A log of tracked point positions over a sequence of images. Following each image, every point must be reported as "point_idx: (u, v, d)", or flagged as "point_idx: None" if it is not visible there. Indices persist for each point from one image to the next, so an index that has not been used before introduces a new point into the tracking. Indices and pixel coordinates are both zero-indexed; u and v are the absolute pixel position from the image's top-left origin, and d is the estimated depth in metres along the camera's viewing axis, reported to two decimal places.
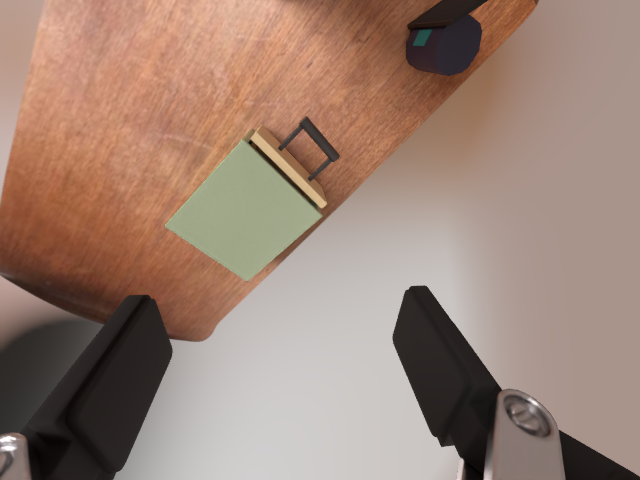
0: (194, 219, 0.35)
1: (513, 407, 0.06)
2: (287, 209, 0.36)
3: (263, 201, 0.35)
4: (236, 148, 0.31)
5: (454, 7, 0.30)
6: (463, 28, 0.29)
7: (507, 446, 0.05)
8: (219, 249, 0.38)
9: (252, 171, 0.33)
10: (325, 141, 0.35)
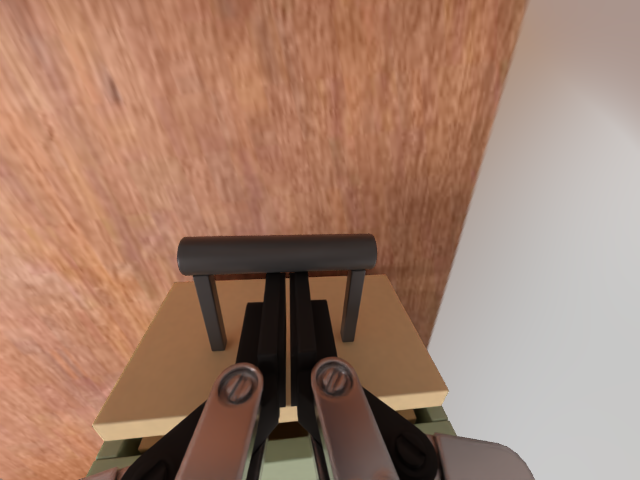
0: None
1: (324, 377, 0.07)
2: None
3: None
4: None
5: None
6: None
7: (332, 425, 0.06)
8: None
9: None
10: (296, 251, 0.09)
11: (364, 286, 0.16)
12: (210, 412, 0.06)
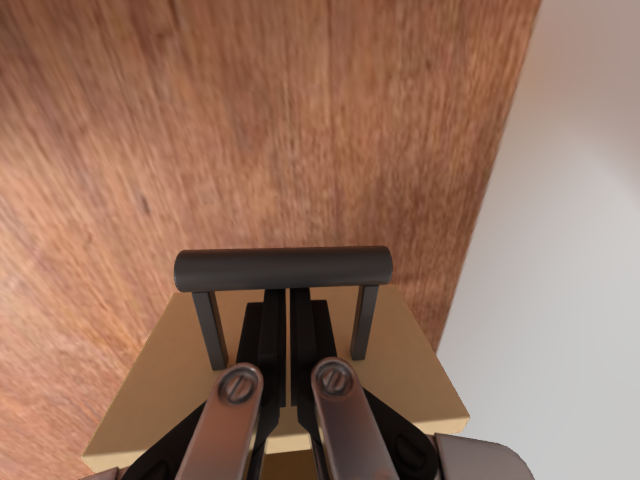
0: None
1: (324, 378, 0.07)
2: None
3: None
4: None
5: None
6: None
7: (332, 425, 0.06)
8: None
9: None
10: (304, 266, 0.08)
11: None
12: (210, 412, 0.06)
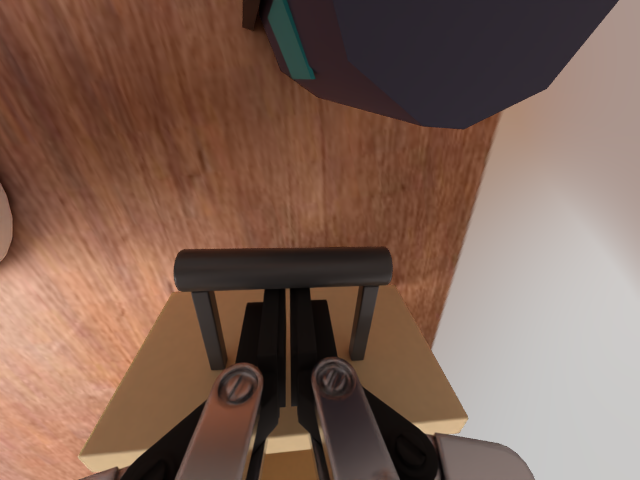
0: None
1: (325, 377, 0.07)
2: None
3: None
4: None
5: None
6: None
7: (332, 425, 0.06)
8: None
9: None
10: (305, 266, 0.08)
11: None
12: (210, 412, 0.06)
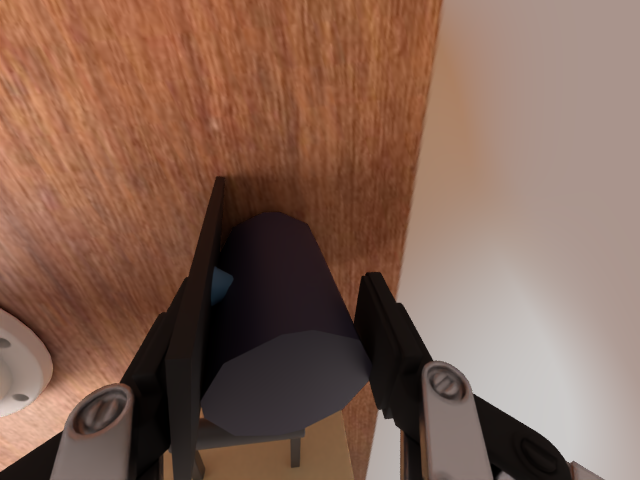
0: None
1: (435, 378, 0.07)
2: None
3: None
4: None
5: None
6: (252, 379, 0.08)
7: (435, 419, 0.06)
8: None
9: None
10: None
11: None
12: (68, 452, 0.05)
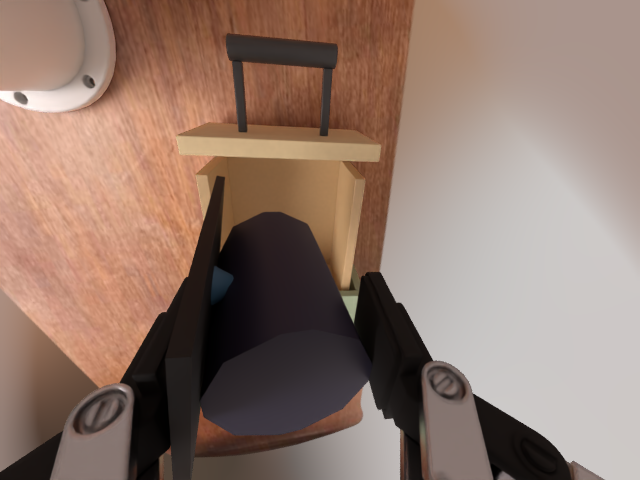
0: None
1: (435, 378, 0.07)
2: None
3: None
4: None
5: None
6: (252, 378, 0.08)
7: (435, 419, 0.06)
8: None
9: None
10: (291, 43, 0.16)
11: (339, 130, 0.23)
12: (68, 452, 0.05)
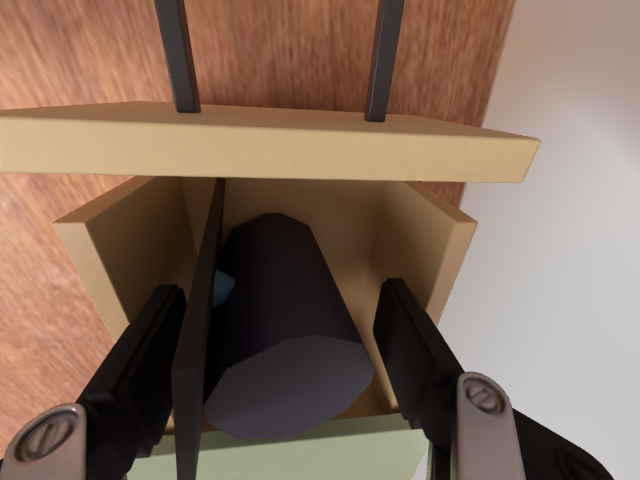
0: None
1: (471, 389, 0.07)
2: (347, 462, 0.13)
3: None
4: (128, 474, 0.11)
5: None
6: (255, 383, 0.08)
7: (469, 429, 0.06)
8: None
9: (206, 472, 0.12)
10: None
11: (389, 115, 0.12)
12: None
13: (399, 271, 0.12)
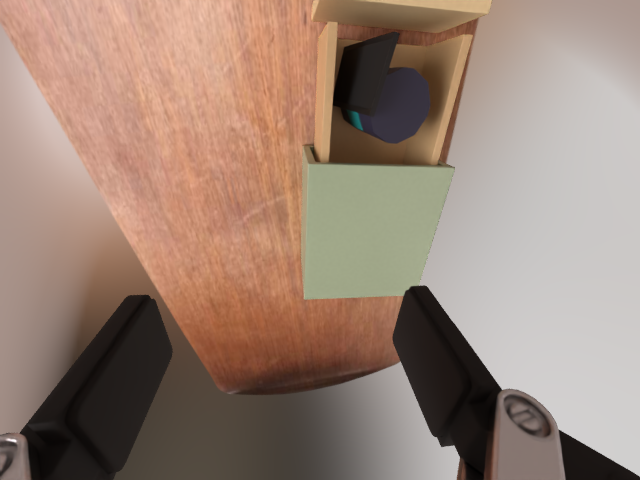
0: (324, 275, 0.30)
1: (513, 407, 0.06)
2: (407, 194, 0.26)
3: (375, 207, 0.27)
4: (309, 178, 0.24)
5: (361, 72, 0.22)
6: (389, 92, 0.21)
7: (507, 446, 0.05)
8: (365, 284, 0.32)
9: (341, 187, 0.25)
10: None
11: None
12: None
13: (435, 88, 0.25)
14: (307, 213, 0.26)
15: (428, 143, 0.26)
